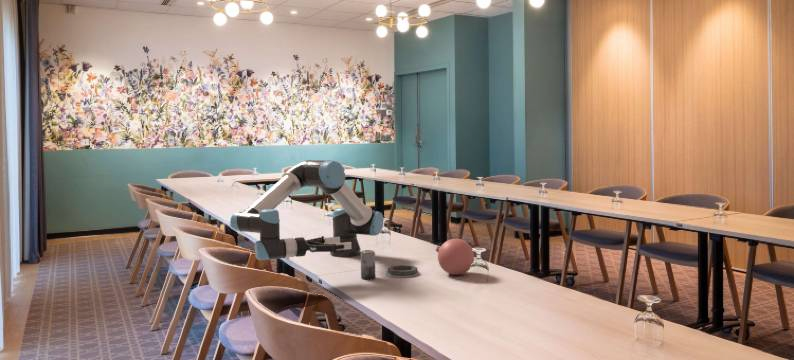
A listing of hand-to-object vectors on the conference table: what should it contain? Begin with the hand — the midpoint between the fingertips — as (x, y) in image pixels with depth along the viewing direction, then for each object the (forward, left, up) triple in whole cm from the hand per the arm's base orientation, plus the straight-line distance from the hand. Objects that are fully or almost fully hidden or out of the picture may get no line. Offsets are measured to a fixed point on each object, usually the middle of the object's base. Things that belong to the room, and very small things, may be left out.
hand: (345, 242), depth 254 cm
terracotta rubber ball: (+10, +45, -16) cm, 49 cm away
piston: (0, +10, -16) cm, 19 cm away
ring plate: (0, +26, -16) cm, 30 cm away
